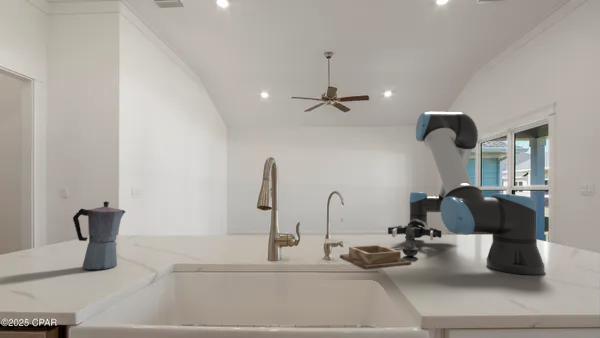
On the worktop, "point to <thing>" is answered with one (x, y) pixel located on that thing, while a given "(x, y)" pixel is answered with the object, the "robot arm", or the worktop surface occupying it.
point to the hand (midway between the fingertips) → (411, 235)
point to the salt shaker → (410, 245)
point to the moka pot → (100, 236)
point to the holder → (374, 256)
